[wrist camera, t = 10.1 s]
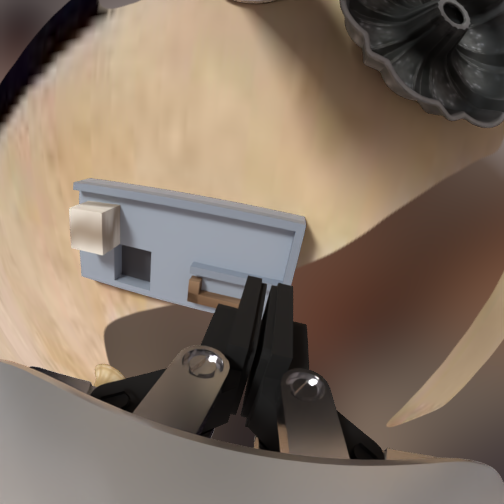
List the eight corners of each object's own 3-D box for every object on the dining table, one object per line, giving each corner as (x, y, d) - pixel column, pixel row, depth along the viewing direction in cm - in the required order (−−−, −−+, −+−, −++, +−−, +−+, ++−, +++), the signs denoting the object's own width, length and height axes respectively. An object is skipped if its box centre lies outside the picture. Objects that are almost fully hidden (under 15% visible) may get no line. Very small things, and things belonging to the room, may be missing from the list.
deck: (90, 178, 38) (73, 182, 34) (304, 216, 37) (306, 225, 33) (90, 269, 43) (76, 279, 40) (278, 317, 42) (277, 333, 38)
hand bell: (136, 384, 52) (102, 443, 37) (119, 397, 55) (87, 449, 40) (104, 357, 50) (63, 412, 36) (90, 372, 53) (53, 422, 38)
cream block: (88, 200, 37) (69, 207, 32) (120, 204, 36) (101, 212, 32) (89, 237, 39) (71, 248, 34) (120, 243, 38) (102, 255, 34)
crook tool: (192, 275, 38) (189, 279, 37) (259, 290, 38) (258, 295, 37) (190, 296, 40) (187, 301, 38) (255, 311, 39) (254, 316, 38)
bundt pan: (287, 44, 29) (285, 12, 20) (375, -60, 20) (390, -94, 11) (451, 168, 32) (493, 179, 22) (511, 49, 22) (549, 39, 13)
